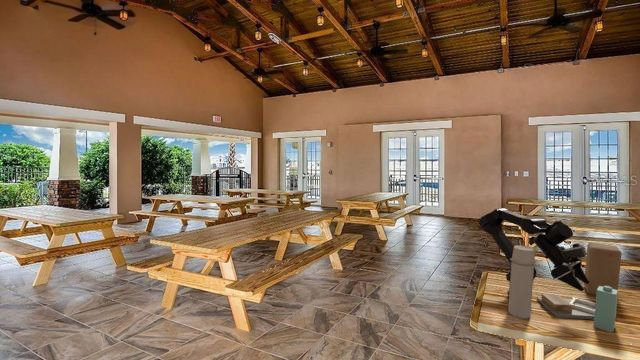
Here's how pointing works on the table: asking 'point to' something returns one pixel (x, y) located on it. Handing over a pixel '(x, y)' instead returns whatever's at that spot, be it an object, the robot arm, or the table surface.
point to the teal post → (605, 308)
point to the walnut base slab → (556, 302)
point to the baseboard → (575, 309)
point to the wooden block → (602, 266)
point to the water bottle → (521, 281)
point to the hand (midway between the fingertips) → (585, 286)
